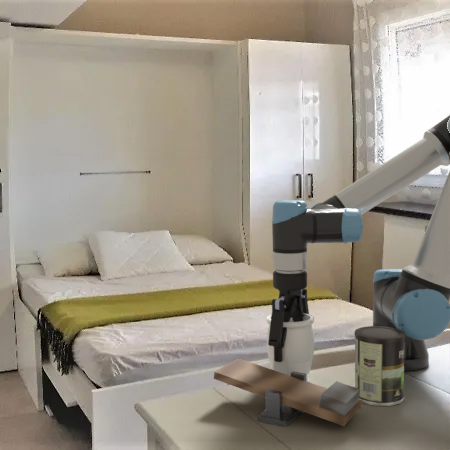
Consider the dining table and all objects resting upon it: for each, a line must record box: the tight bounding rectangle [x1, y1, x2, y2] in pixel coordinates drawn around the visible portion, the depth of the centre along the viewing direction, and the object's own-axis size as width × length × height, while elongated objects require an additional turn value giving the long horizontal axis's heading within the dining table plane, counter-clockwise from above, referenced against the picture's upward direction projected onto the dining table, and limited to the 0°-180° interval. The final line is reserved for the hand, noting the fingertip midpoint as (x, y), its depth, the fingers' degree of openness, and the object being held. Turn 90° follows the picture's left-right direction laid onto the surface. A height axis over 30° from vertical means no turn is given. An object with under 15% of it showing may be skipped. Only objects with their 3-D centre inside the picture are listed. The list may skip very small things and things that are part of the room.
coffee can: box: [354, 325, 405, 407], centre depth 136 cm, size 10×10×14 cm
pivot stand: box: [256, 371, 306, 428], centre depth 129 cm, size 6×14×6 cm, turn 150°
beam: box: [213, 358, 363, 427], centre depth 129 cm, size 28×10×4 cm, turn 60°
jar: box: [266, 313, 315, 383], centre depth 145 cm, size 11×10×15 cm
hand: (290, 367), depth 145 cm, fingers closed on jar, 10 cm apart
